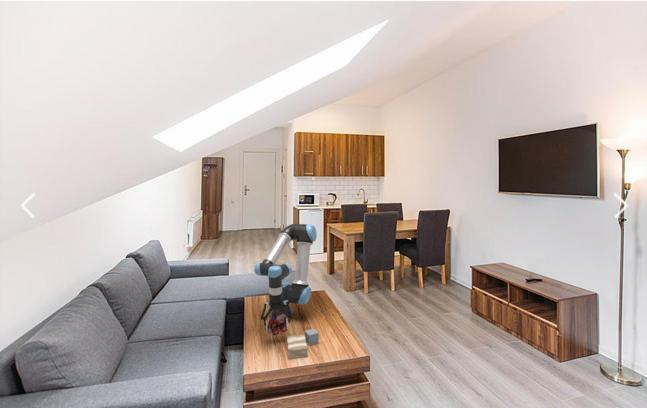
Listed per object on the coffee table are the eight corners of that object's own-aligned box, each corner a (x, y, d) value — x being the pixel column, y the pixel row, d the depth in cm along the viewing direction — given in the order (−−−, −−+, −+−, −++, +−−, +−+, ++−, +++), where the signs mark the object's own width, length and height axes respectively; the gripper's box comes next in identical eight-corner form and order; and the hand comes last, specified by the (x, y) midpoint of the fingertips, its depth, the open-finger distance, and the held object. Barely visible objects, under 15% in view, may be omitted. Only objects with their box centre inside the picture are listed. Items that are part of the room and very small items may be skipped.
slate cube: (305, 340, 179) (305, 330, 179) (314, 338, 182) (314, 328, 181) (309, 345, 174) (308, 335, 174) (318, 342, 177) (318, 333, 176)
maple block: (287, 344, 176) (287, 335, 176) (304, 342, 178) (304, 334, 177) (288, 359, 161) (288, 350, 161) (307, 357, 163) (307, 348, 163)
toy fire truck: (265, 332, 178) (264, 315, 177) (283, 325, 186) (283, 309, 184) (270, 337, 173) (269, 320, 172) (289, 330, 180) (288, 313, 179)
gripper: (254, 297, 170) (256, 334, 173) (296, 293, 174) (298, 330, 177) (255, 292, 178) (256, 328, 180) (295, 288, 182) (296, 323, 184)
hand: (277, 329), depth 178 cm, fingers closed on toy fire truck, 11 cm apart
